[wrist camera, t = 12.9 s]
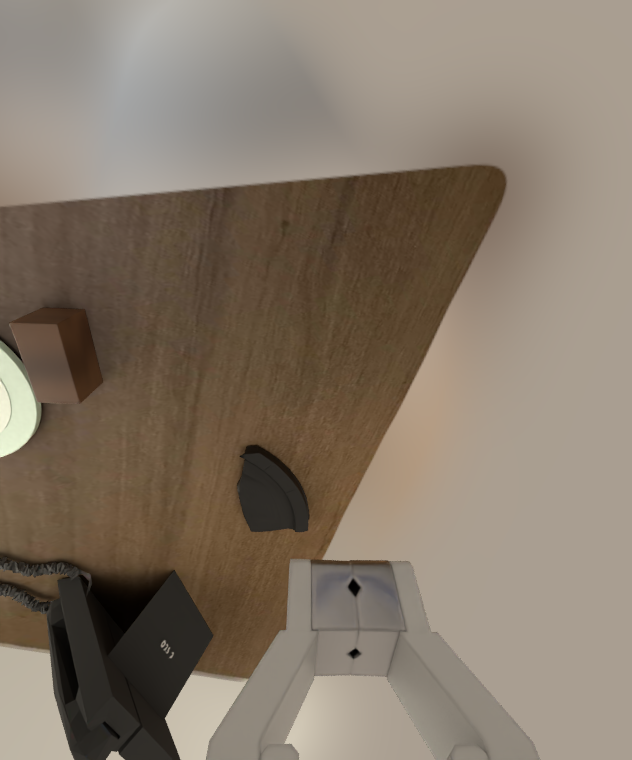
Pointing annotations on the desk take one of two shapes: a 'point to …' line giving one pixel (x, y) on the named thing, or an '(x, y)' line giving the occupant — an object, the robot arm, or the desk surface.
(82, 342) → the walnut block
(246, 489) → the fan shaped piece
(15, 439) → the plate
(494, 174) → the desk surface
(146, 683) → the office phone
